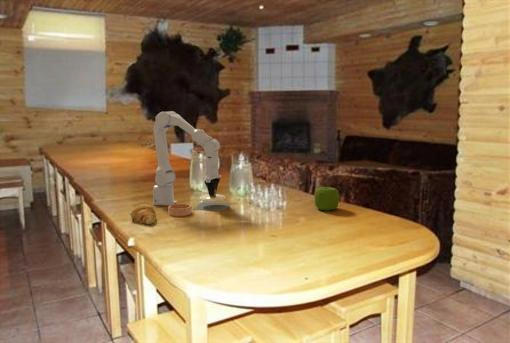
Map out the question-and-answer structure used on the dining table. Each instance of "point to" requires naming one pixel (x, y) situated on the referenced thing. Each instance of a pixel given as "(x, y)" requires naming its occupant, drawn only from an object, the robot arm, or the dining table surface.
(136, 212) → the croissant
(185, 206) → the brown rounded ring
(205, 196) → the lid
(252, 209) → the dining table surface
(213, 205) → the mat
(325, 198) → the green rounded cube
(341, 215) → the dining table surface
